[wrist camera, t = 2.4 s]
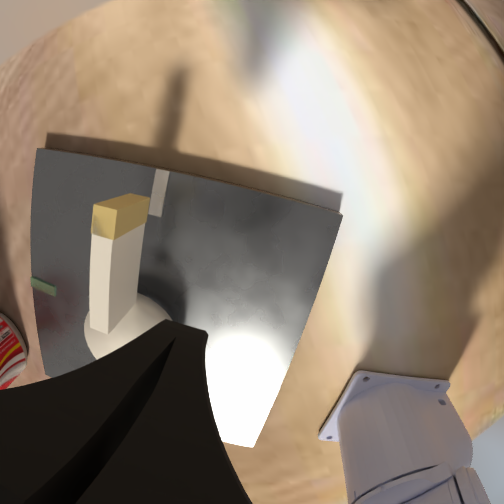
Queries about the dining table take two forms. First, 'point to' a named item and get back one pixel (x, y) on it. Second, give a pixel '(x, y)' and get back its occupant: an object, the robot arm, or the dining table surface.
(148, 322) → the white ball on stick
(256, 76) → the dining table surface
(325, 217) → the plate
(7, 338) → the soda can
